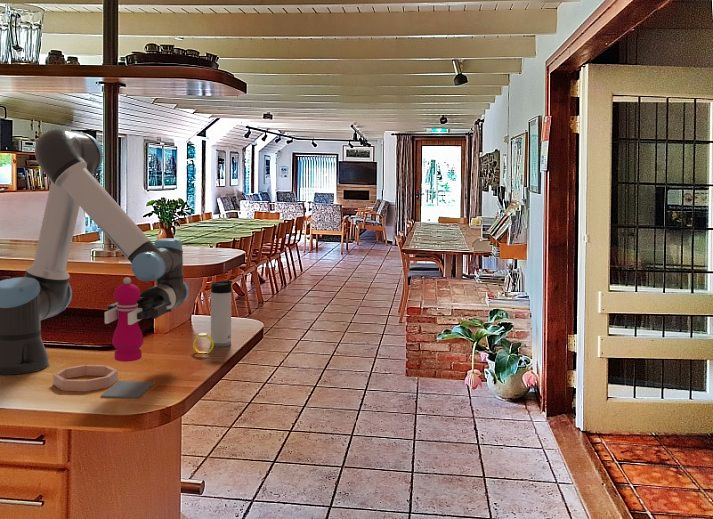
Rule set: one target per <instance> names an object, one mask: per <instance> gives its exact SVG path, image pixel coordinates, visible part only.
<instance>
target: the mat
mask: <svg viewBox="0 0 713 519" xmlns="http://www.w3.org/2000/svg"><path fill="white" fill-rule="evenodd" d="M154 384H155V382H154V381H139V380H138V381H134V380H133V381H132V380H131V381H130V380H117V381H116V382H115V383H113V384H112V385H111V386H110V387H108V389H107V390H105V391H104V392H103V393H102V394H100V398H106V399H107V398H109V399H133V400H134V399H137V400H138V399H140V398H141V397H142V396H143V395H144V394H145V393H146V392H147V391H148V390H149V389H150V388H152V386H153V385H154Z"/></svg>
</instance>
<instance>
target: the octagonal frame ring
mask: <svg viewBox="0 0 713 519" xmlns="http://www.w3.org/2000/svg"><path fill="white" fill-rule="evenodd" d="M118 375H119V374H118V370H117V369H115V368H114V367H111V366H110V365H102V364H81V365H77V366H71V367H70V366H69V367H66V368H62V369H61V370H58V371H57V372H55V373H54V374H52V382H53V383H52V384H53V386H55V387H57V388H58V389H59V390H61V391H64V392H65V391H67V392H70V391H71V392H91V391H95V390H100V389H105V388H111V387H112V386H113V385H114V384H116V383H117V382H118V381H119V380H118V379H119V377H118ZM83 376H94V377H95V376H101V377H95V378H89V379H72V378H77V377H83Z"/></svg>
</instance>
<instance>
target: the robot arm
mask: <svg viewBox="0 0 713 519" xmlns="http://www.w3.org/2000/svg"><path fill="white" fill-rule="evenodd" d="M34 155H35V159H36V161H37V164H38V166H39V167H40V168H41V170H42V171H43V172H44V174H45V175H46V176H47V179H49V181H50V185H49V189H48V193H47V199H46V204H45V209H44V213H43V217H42V221H41V226H40V232H39V236H38V241H37V244H36V245H37V246H36V250H35V256H34V260H33V263H32V264H31V265H29V266H27V267H26V269H25V272H24V276H23V277H21V276H20V277H11V278H7V279H2V280H0V375H19V374H28V373H33V372H37V371H41V370H43V369H45V368H47V367H48V366H49V365H50V364H49V363H50V362H49V355H48V352H47V349H46V348H45V344H44V341H43V339H42V331H41V330H42V328H41V327H42V326H41V325H42V324H41V323H42V322H41V321H43V320H46V319H48V318H52V317H55V316H57V315H59V314H60V313H62V312H63V311H65V310H66V308H67V307H68V306H69V304H70V303H71V302H72V297H73V290H72V287H71V286H70V279H71V278H70V277H71V276H70V274H69V272H68V270H67V264H68V261H69V255H70V252H71V246H72V242H73V238H74V233H75V228H76V226H77V219H78V215H79V212H80V208H81V209H82V210H83V211H84V213H85V214H86V215H87V216H88V217H89V218H90V219H91V220H92V221H93V223H94V224H95V225H97V228H99V229H100V230H101V231H102V233H103V234H105V236H106V237H107V238H108V239H109V240H110V242H112V244H113V245H114V246H115V247H116V248H117V249H118V250H119V251H120V252H121V253H122V255H123V256H124V257H125V258H126V259H127V260H128V262H130V264H131V270H132V271H131V272H132V274H133V275H134V276H135V277H136V279H138V280H139V281H142V282H151V281H155V285H154V286H152V287H150V288H147V289H144V290H143V291H141V292H140V298H139V300H138V301H137V303H138V309H136V310H134V311H132V312H130V313H128V325H132V324H134V323H136V322H138V323H139V322H140V321H141V320H143V319H144V320H148V319H149V318H151V319H152V320H153V319H154V320H155V319H157V318H159V317H162V316H163V315H165V314H167V313H170V312H172V309H174V308H177V307H178V306H179V307H180V305H182V304H183V303H184V302H185V301H187V299H188V296H189V292H190V291H189V286H188V285H187V283H186V282H185V281H184V262H183V261H184V258H183V256H184V255H183V253H184V250H183V243H182V240H181V239H180V238H172V237H171V238H159V239H155V241H154V243H153V242H152V241H151V239H149V237H148V236H147V235H146V234H145V233H144V231H142V229H141V228H140V227H139V226H138V225H137V224H136V223H135V222H134V221H133V219H132V218H131V217H130V216H129V215H128V214H127V213H126V212H125V210H124V209H123V208H122V207H121V206H120V205H119V204H118V203H117V202H116V200H115V199H114V197H112V196H111V194H109V192H107V190H106V189H105V188H104V187H103V186H102V185H101V184H100V182H99V181H98V180H97V179H96V177H94V173H95V172H96V171H97V170H98V169H100V167H101V166H102V163H103V158H104V156H103V155H104V153H103V149H102V147H101V145H100V142H99V141H98V140H97V139H96V138H94V137H93V136H92V135H90V134H88V133H85V132H82V131H77V130H67V129H51V130H48V131H46V132H44V133H43V134H42V135H41V136H40V137H39V138H38V139H37V141H36V144H35V147H34ZM117 304H118V302H117V301H116V302H114V303H111V304H109V305H107V311H104V324H105V325H107V324H110V323H112V322H115V321H118V319H119V312H118V310H117Z"/></svg>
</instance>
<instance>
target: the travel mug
mask: <svg viewBox="0 0 713 519" xmlns="http://www.w3.org/2000/svg"><path fill="white" fill-rule="evenodd" d="M232 284H233V281H232V280H220V281H216V282H212V283H211V285H210V337H211V338H212V339H213V342H214V347H215V346H216V347H217V348H223V347H224V346H225V347H229V346H231V345H232ZM210 345H211V346H212V344H211V343H210Z"/></svg>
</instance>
